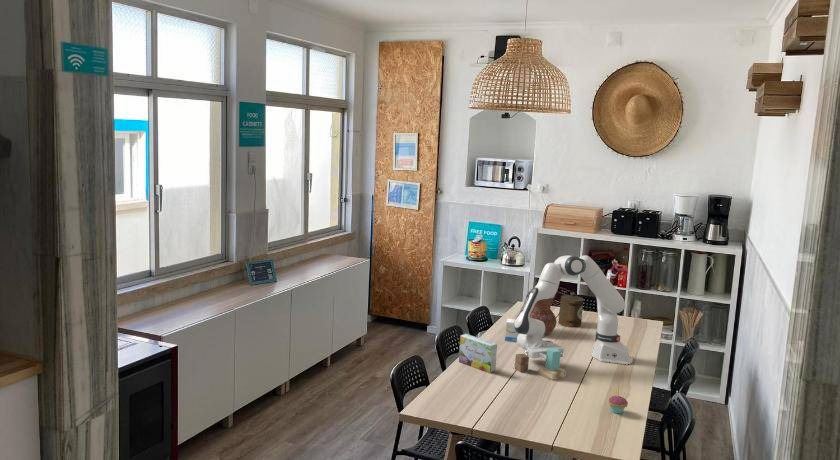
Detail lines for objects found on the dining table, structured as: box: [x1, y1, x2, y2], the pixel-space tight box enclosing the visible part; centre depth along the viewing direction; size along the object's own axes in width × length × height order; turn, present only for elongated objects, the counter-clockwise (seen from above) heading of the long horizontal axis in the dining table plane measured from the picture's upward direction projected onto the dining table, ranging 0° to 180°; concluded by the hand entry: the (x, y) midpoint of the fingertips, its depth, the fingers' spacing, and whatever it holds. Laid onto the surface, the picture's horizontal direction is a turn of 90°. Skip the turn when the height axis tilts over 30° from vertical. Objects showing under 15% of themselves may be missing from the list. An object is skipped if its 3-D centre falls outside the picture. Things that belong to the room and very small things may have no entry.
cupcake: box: [608, 386, 629, 414], centre depth 303 cm, size 9×8×12 cm
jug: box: [525, 290, 557, 336], centre depth 418 cm, size 22×21×25 cm
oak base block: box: [537, 365, 567, 381], centre depth 345 cm, size 10×10×4 cm
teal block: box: [544, 348, 561, 371], centre depth 345 cm, size 5×5×10 cm
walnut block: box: [514, 353, 530, 373], centre depth 350 cm, size 5×5×8 cm
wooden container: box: [558, 291, 584, 328], centre depth 441 cm, size 15×15×22 cm
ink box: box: [504, 318, 519, 343], centre depth 402 cm, size 9×8×12 cm
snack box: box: [458, 333, 498, 374], centre depth 351 cm, size 21×6×15 cm, turn 47°
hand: (554, 356), depth 343 cm, fingers open, 8 cm apart
